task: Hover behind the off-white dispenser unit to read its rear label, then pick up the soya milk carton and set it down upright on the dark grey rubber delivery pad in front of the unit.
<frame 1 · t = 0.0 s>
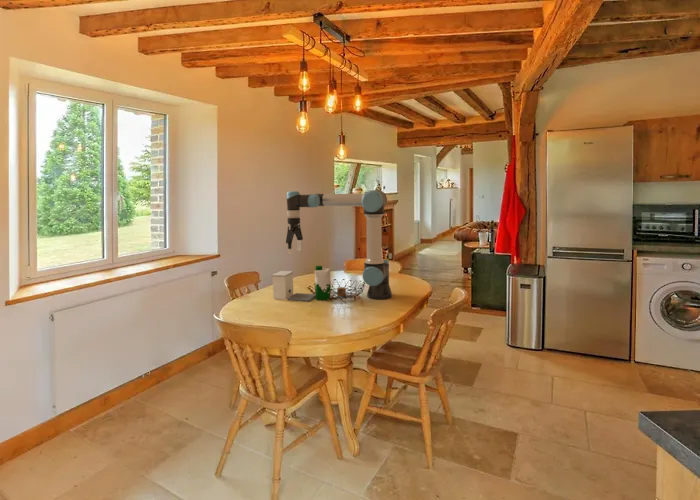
hand: (295, 252, 266), 28 cm above the table, fingers open, 13 cm apart
dispenser unit: (283, 296, 271), on the table
walnut block: (341, 296, 272), on the table
soya milk: (323, 299, 265), on the table
delivery pad: (302, 298, 268), on the table
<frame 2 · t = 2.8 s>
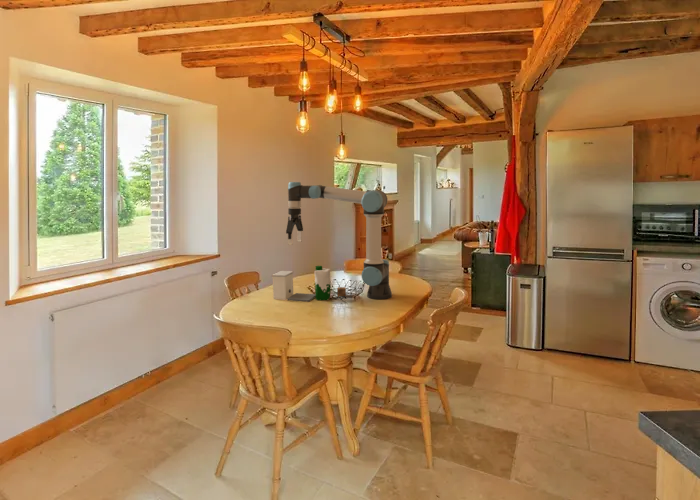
hand: (294, 243, 266), 34 cm above the table, fingers open, 13 cm apart
nothing on the table moved.
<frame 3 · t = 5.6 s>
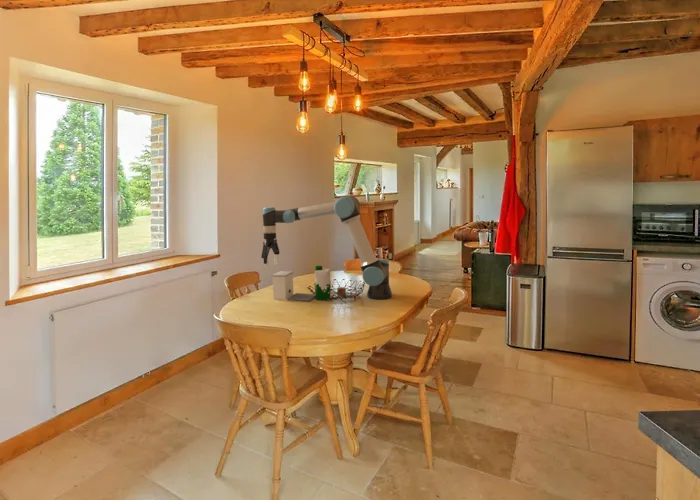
hand: (271, 266, 271), 19 cm above the table, fingers open, 13 cm apart
nothing on the table moved.
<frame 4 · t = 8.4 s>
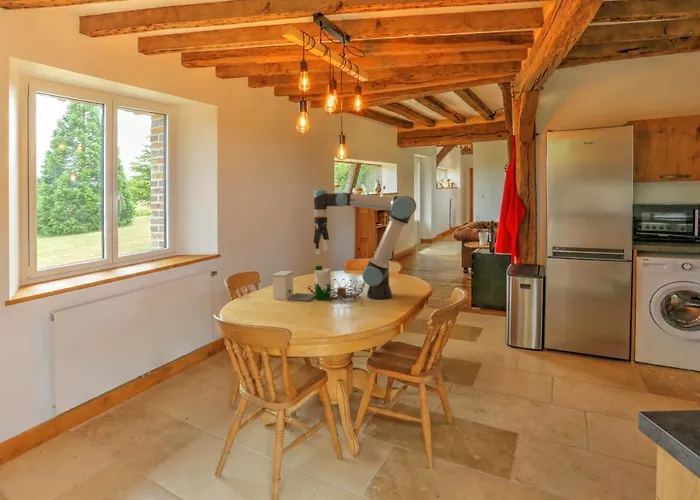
hand: (321, 252, 261), 29 cm above the table, fingers open, 13 cm apart
nothing on the table moved.
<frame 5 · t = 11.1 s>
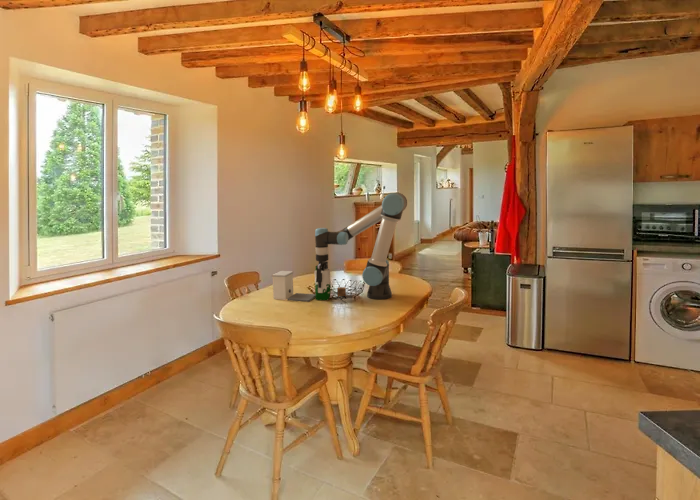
hand: (322, 290, 265), 5 cm above the table, fingers closed on soya milk, 9 cm apart
soya milk: (323, 299, 266), on the table, touching gripper
everything else where it was.
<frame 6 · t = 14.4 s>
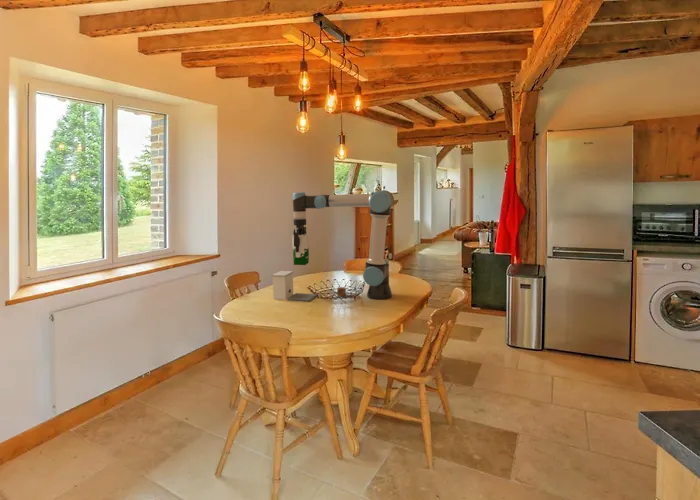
hand: (301, 256, 264), 26 cm above the table, fingers closed on soya milk, 9 cm apart
soya milk: (301, 264, 265), point 21 cm above the table, touching gripper
everything else where it was.
when the fingers open (7 cm above the table, at t = 18.1 s): soya milk drops 1 cm, resting on delivery pad.
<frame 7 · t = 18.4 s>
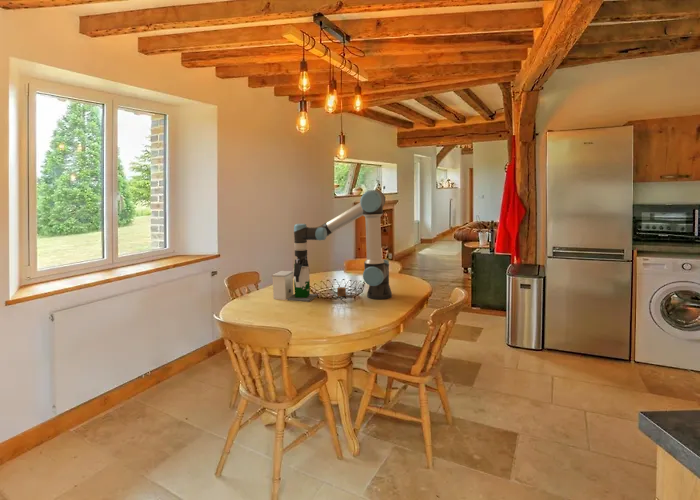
hand: (302, 284, 267), 8 cm above the table, fingers open, 12 cm apart
soya milk: (302, 296, 268), point 1 cm above the table, touching delivery pad
everything else where it was.
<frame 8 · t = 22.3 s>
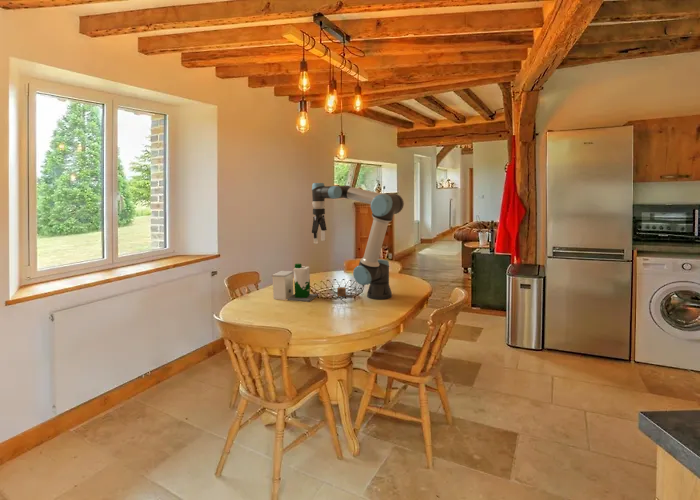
hand: (319, 242, 274), 33 cm above the table, fingers open, 13 cm apart
nothing on the table moved.
at the end: soya milk inside the target area on the delivery pad (0.1 cm from its centre), point 0.8 cm above the delivery pad's base; soya milk tilted 0°; the gripper is holding nothing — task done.
